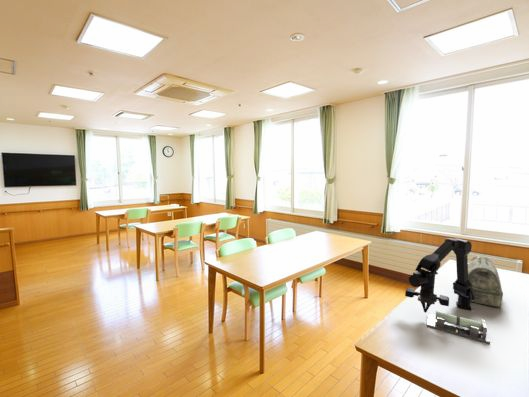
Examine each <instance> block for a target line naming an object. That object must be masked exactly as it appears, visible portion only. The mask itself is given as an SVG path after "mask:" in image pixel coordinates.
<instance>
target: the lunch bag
mask: <svg viewBox="0 0 529 397" xmlns="http://www.w3.org/2000/svg"><path fill="white" fill-rule="evenodd" d="M468 262H469V263H468V280H469V281H470V283H471V284H472V287H473V291H474V292H475V294H476V298H475V300H471V302H470V303H476V304H479V305H480V304H481V305H485V306H490V307H494V308H501V306H503V305H502V304H503V303H502V302H503V297H504V292H503V289H502V284H501V280H500V276H499V273H498V270H497V267H496V266H495V264H494V262H493V261H492V260H491V259H490V258H489V257H486V256H479V255H477V256H474V257H473V258H472V259H471V260H470V261H468Z"/></svg>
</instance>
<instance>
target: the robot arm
mask: <svg viewBox="0 0 529 397" xmlns="http://www.w3.org/2000/svg"><path fill="white" fill-rule="evenodd" d="M472 246H473V245H472V242H471V241H469V240H466V239H462V238H457V237H456V238H450V237H446V238H445V239H444V242H443V243H441V245H440V246H439V247H438V248H437V249H435V250H434V251H433V252H432V253H430V254H427V255H425V256H424V257H422V258H421V259H420V261H419V262H418V265H417V266H416V267H415V272H412V274H411V275H409V277H408V282H409V284H410V285H411V286H412V287H413V288H412V287H406V288H405V294H404V295H405V297H408V298H410V299H411V298H414V296H415V297H417V301H419V302H420V304H421V306H422V309H423V313H427V312H428V310H429V308H430V307H431V305H435V303H437V302H438V303H439V305H440V306H444V307H449V305H450V297H449V296H448V295H442V294H439V296H438V295H437V294H436V293H434V292H435V280H436V275H438V274H439V272H438V270H439V269H440V267H441V262H442V261H443V260H444V259H445V258H446V257H447V256H448V255H449V254H451V252H452V251H453V253H454V255H455V259H456V260H455V262H456V280H455V281H454V282H453V283H452V289H453V293H454V295H455V294H456V295H457V301H456V302H455V303H456V307H457V308H460V309H464V310H467V311H472V305H471V303H472V302H471V300H475V298H476V294H475V292H474V291H473V287H472V284H471V283H470V281H469V280H468V264H469V263H468V262H469V261H468V255H469V254H470V253H471V252H472V248H473V247H472ZM419 287H420V290H419V291H416V289H415V288H419Z"/></svg>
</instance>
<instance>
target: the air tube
mask: <svg viewBox="0 0 529 397" xmlns="http://www.w3.org/2000/svg"><path fill="white" fill-rule="evenodd" d="M442 312H443V311H439V312H438V311H437V310H436V311H435V315H436V318H435V319H436V320H437V317H440V318H443V319H445V321H444V322H447V323H451V324H455V325H458V326H462V327H466V328H470V326H474V327H477V328H479V331H481V332H482V322H481V321H477V320H474V319H470V318H465V317H462V316H458V315H454V314H449V313H446V312H443V313H442Z"/></svg>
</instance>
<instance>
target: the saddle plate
mask: <svg viewBox="0 0 529 397" xmlns="http://www.w3.org/2000/svg"><path fill="white" fill-rule="evenodd" d="M438 312H440V311H438ZM441 312H442V313H444V312H443V311H441ZM435 318H436V314H432V313H429V312H428V313H427V320H426V327H427V326H428V327H427V328H432V329H434V328H435V330H438V331H442V332H444V333H445V332H446V333H450V334H452V335H456V336H460V337H463V338H467V339H471V340H473V341H477V342H479V343H484V344H488V345H490V344H491V340H490V337H489V332H488V328H487V323H486V320H485V319H481V321H480V322H482V332H481V331H479V328H477V327H474V326H470V328H466V327H462V326H458V325H455V324H451V323H447V322H444V321H445V319H443V318H440V317H437V320H436V319H435Z"/></svg>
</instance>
